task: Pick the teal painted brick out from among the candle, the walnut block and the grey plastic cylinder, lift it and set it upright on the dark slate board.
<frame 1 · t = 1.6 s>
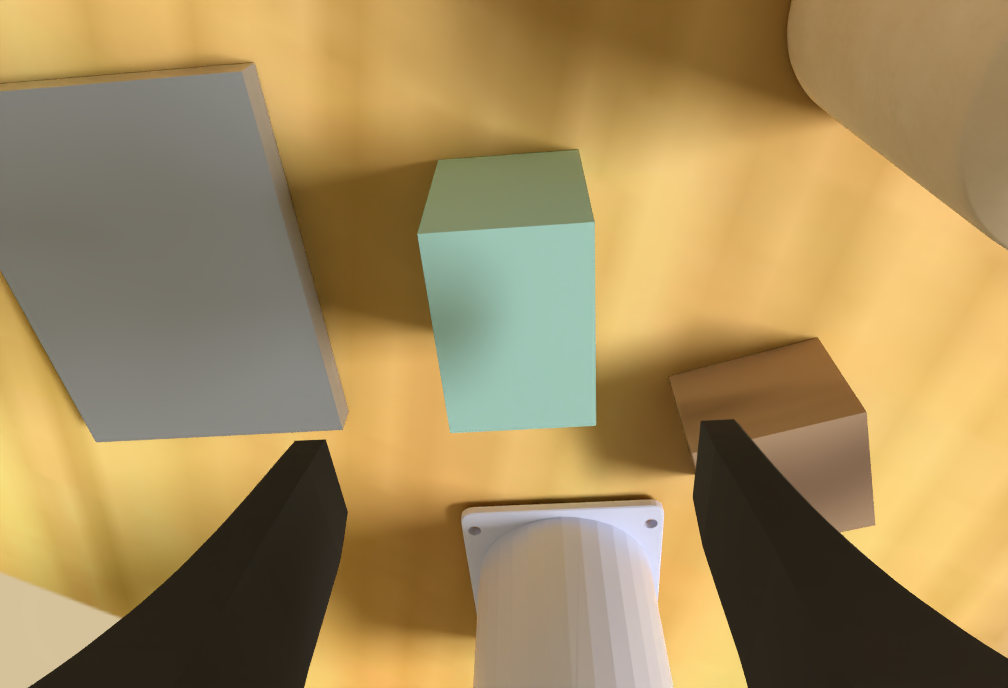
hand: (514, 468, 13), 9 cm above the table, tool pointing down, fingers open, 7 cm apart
teal brick: (515, 248, 21), on the table
walnut block: (751, 408, 25), on the table
candle: (892, 7, 17), on the table
slate board: (170, 273, 22), on the table
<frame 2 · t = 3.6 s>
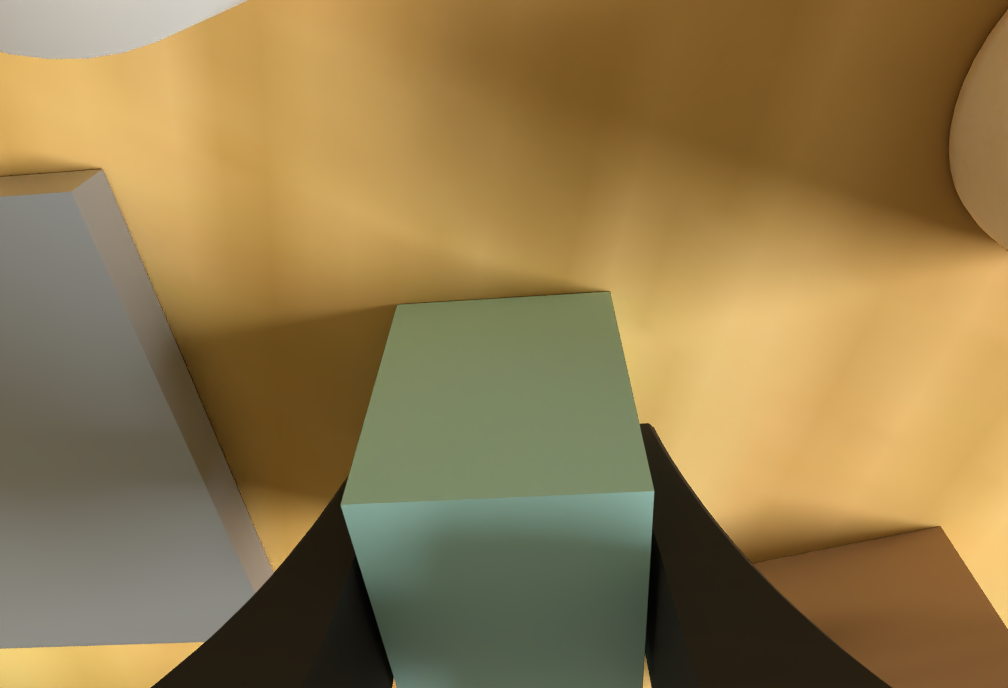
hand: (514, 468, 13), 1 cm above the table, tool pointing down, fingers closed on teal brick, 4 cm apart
teal brick: (514, 420, 15), on the table, touching gripper
walnut block: (835, 603, 18), on the table
slate board: (18, 446, 15), on the table
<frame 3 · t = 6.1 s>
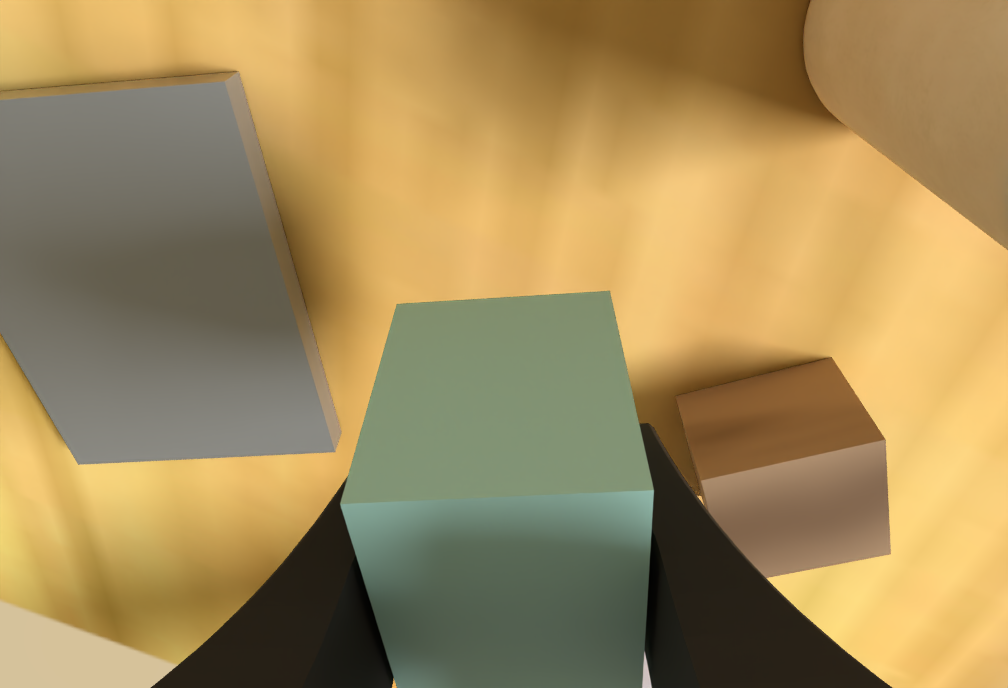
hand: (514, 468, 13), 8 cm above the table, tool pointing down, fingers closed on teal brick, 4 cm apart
teal brick: (514, 419, 15), point 7 cm above the table, touching gripper
walnut block: (760, 429, 24), on the table
candle: (915, 13, 16), on the table
slate board: (153, 290, 21), on the table
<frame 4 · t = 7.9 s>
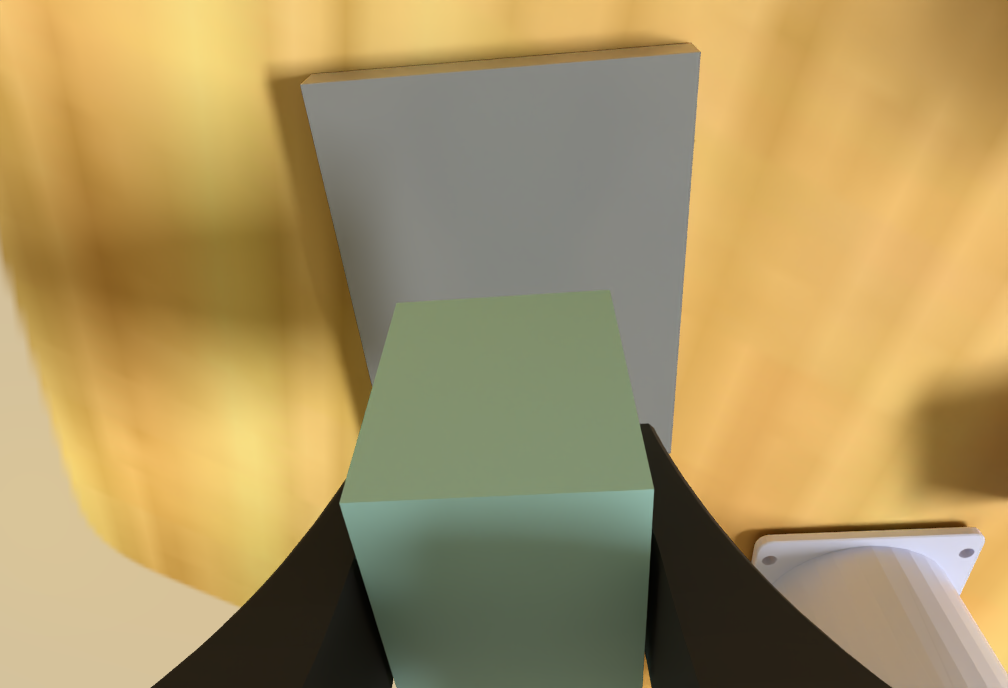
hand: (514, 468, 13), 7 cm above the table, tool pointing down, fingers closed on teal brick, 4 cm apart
teal brick: (513, 418, 14), point 6 cm above the table, touching gripper
slate board: (516, 281, 20), on the table
when the fingers open (4 cm above the table, at t = 9.0 s): teal brick drops 1 cm, resting on slate board.
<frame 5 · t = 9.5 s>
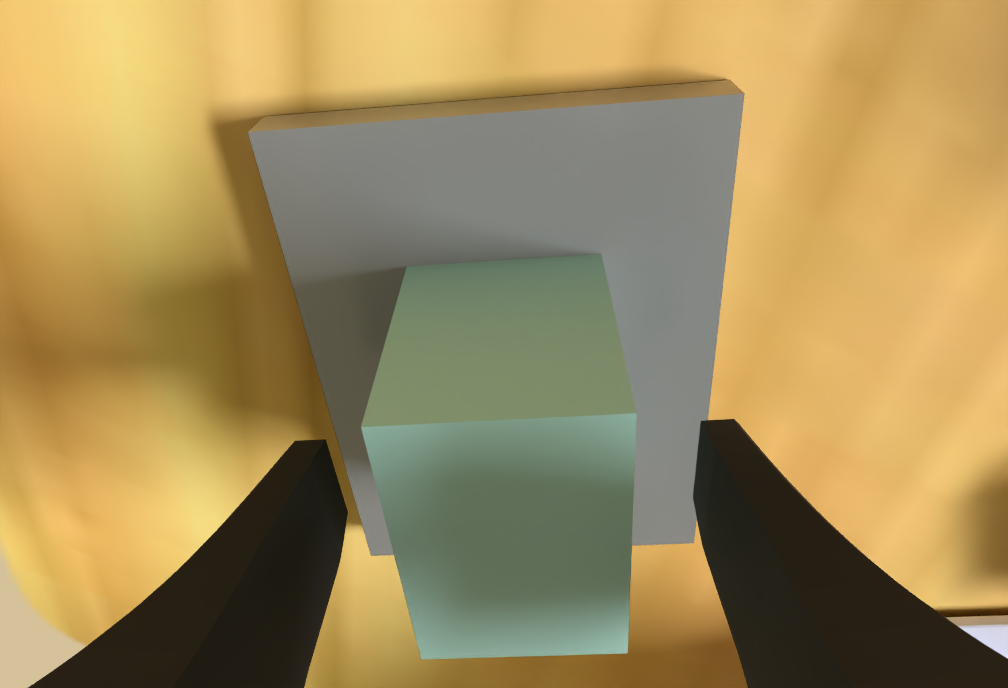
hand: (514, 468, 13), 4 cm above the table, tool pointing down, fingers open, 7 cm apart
teal brick: (513, 377, 16), point 1 cm above the table, touching slate board
slate board: (514, 353, 17), on the table
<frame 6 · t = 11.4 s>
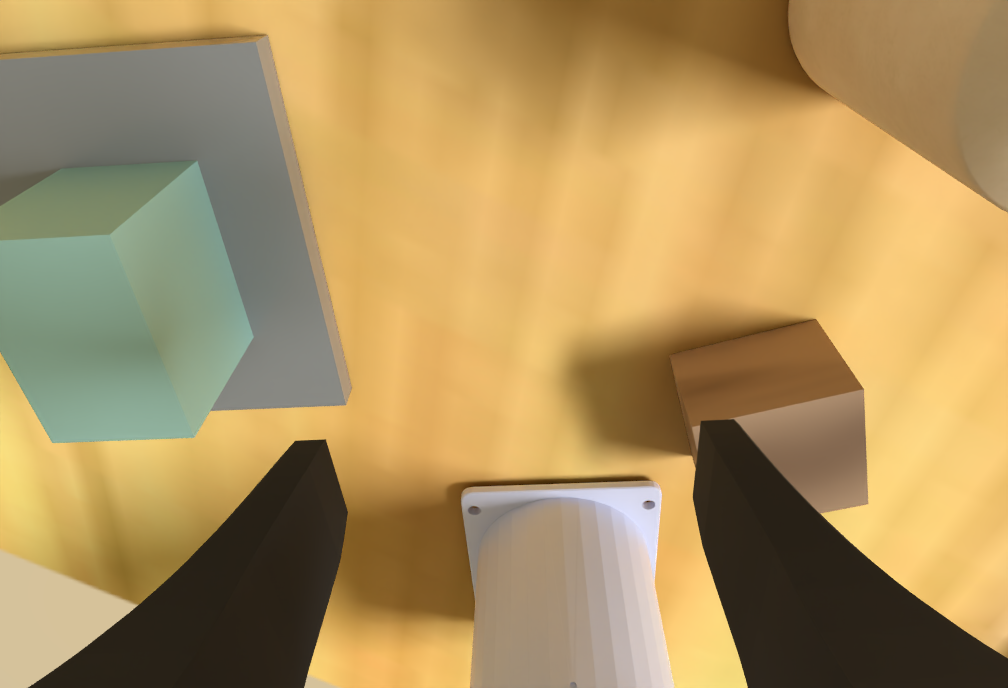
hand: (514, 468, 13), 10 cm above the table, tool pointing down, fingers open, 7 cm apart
teal brick: (164, 259, 21), point 1 cm above the table, touching slate board
walnut block: (748, 389, 25), on the table
slate board: (178, 245, 22), on the table
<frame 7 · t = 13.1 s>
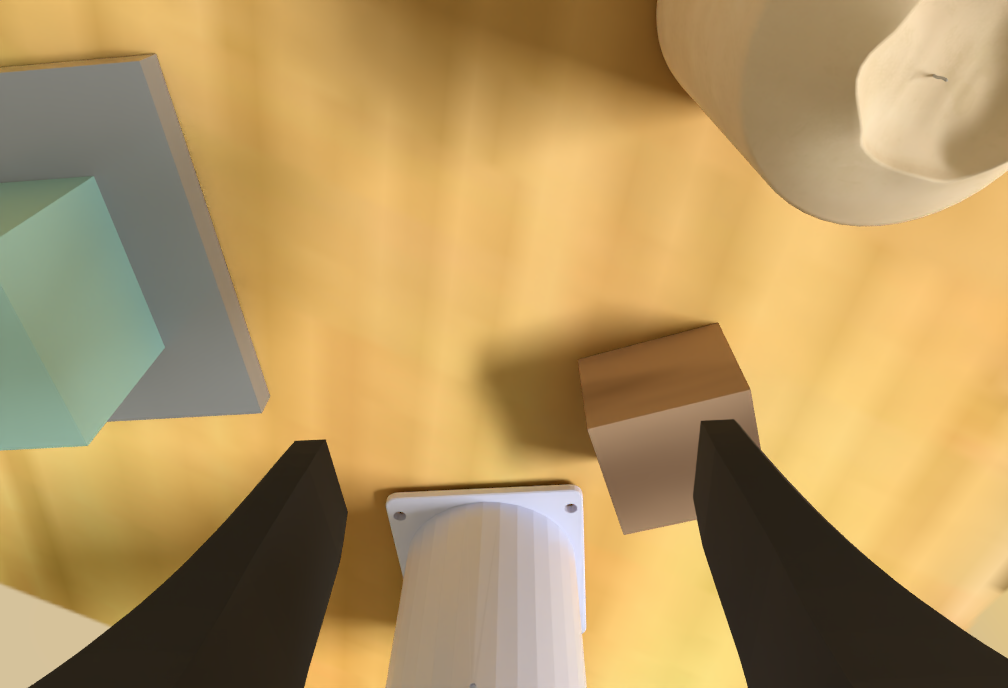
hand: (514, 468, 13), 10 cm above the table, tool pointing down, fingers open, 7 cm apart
teal brick: (71, 272, 22), point 1 cm above the table, touching slate board
walnut block: (660, 393, 25), on the table
candle: (755, 0, 18), on the table
slate board: (88, 259, 23), on the table
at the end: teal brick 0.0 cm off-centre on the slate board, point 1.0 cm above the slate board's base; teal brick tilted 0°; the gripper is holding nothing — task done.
